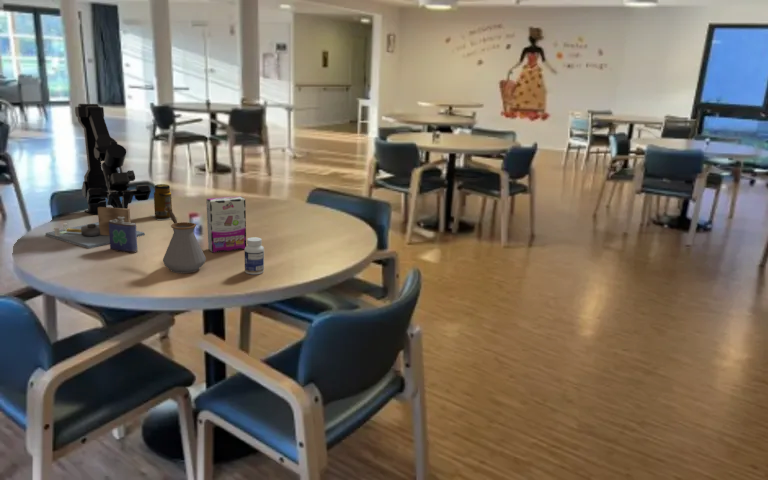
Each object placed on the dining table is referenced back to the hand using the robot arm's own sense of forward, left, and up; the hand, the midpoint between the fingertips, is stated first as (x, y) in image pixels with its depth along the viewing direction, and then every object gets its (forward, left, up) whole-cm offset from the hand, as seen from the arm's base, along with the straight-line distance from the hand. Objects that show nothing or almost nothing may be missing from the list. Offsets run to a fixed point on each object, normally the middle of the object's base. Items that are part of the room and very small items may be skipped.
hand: (125, 216), depth 186 cm
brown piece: (-7, -5, -6) cm, 11 cm away
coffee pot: (+32, -7, -8) cm, 34 cm away
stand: (-10, -4, -7) cm, 13 cm away
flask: (+10, -9, -8) cm, 15 cm away
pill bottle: (+53, +1, -8) cm, 53 cm away
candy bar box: (+32, +12, -8) cm, 35 cm away
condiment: (-13, +26, -8) cm, 30 cm away
